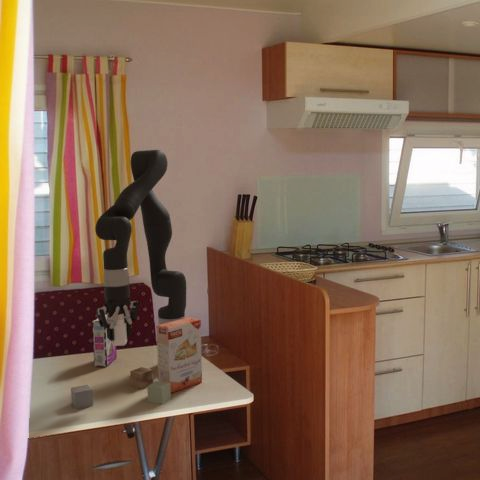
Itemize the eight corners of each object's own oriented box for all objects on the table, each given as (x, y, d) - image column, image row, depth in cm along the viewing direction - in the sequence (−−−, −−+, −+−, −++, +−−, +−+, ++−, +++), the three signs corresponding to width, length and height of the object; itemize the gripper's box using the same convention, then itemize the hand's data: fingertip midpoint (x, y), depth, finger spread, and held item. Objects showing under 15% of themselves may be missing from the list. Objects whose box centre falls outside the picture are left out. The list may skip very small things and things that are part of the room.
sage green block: (156, 396, 202) (155, 380, 202) (170, 398, 200) (170, 382, 200) (148, 402, 198) (147, 386, 197) (162, 404, 196) (162, 388, 195)
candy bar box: (107, 367, 232) (105, 321, 230) (93, 367, 233) (91, 321, 231) (117, 357, 243) (115, 314, 241) (104, 357, 244) (102, 313, 242)
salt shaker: (112, 346, 199) (110, 315, 198) (114, 342, 203) (112, 312, 202) (125, 346, 199) (123, 315, 198) (127, 342, 203) (126, 311, 202)
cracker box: (170, 394, 204) (168, 327, 201) (158, 390, 208) (155, 324, 205) (203, 382, 214) (201, 318, 211) (190, 378, 218) (188, 316, 215)
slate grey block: (88, 400, 201) (87, 384, 200) (92, 405, 196) (91, 389, 196) (71, 403, 198) (70, 387, 198) (75, 409, 194) (74, 392, 193)
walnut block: (142, 381, 216) (141, 367, 216) (153, 384, 213) (152, 369, 213) (131, 386, 212) (130, 371, 212) (142, 389, 209) (141, 374, 209)
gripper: (129, 278, 206) (132, 331, 208) (88, 285, 197) (92, 341, 199) (143, 280, 201) (146, 335, 203) (102, 288, 191) (105, 345, 193)
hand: (119, 338), depth 201 cm, fingers closed on salt shaker, 5 cm apart
